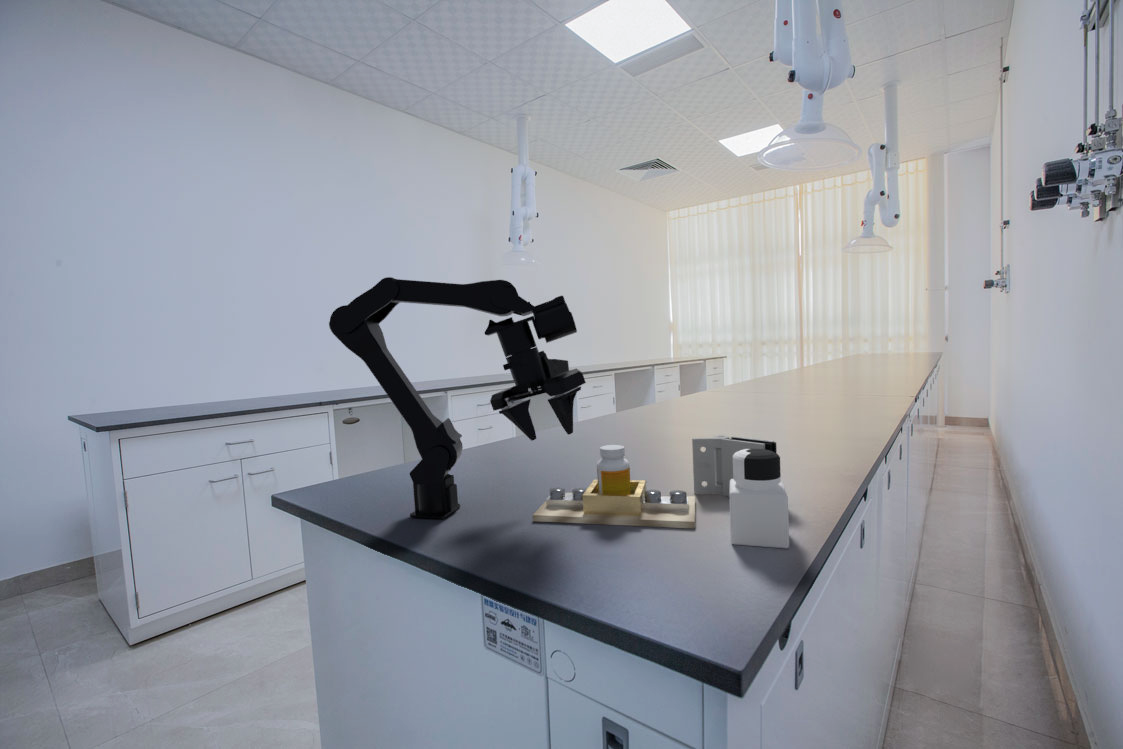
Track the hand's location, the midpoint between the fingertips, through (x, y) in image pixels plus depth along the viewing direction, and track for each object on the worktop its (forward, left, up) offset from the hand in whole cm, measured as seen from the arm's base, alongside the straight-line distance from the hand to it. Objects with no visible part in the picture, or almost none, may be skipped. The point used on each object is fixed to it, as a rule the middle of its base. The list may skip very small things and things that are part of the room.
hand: (551, 436), depth 87 cm
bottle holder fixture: (+11, -2, -12) cm, 17 cm away
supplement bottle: (+11, -2, -11) cm, 16 cm away
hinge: (+30, +8, -12) cm, 33 cm away
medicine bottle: (+32, -10, -12) cm, 36 cm away
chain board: (+11, -2, -12) cm, 17 cm away
